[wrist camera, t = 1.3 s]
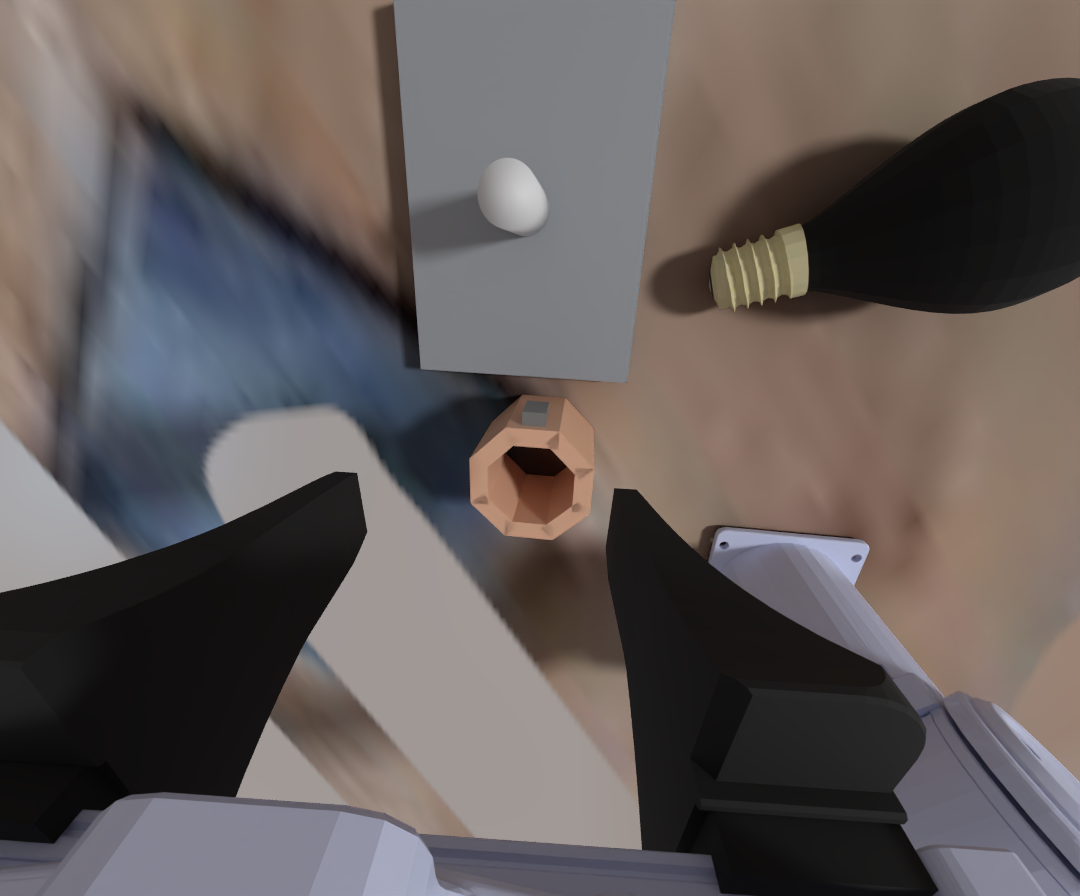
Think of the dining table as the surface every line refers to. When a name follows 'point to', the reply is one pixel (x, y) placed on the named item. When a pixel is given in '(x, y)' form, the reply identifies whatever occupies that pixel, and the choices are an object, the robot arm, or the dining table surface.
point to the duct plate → (565, 142)
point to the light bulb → (940, 217)
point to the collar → (525, 497)
